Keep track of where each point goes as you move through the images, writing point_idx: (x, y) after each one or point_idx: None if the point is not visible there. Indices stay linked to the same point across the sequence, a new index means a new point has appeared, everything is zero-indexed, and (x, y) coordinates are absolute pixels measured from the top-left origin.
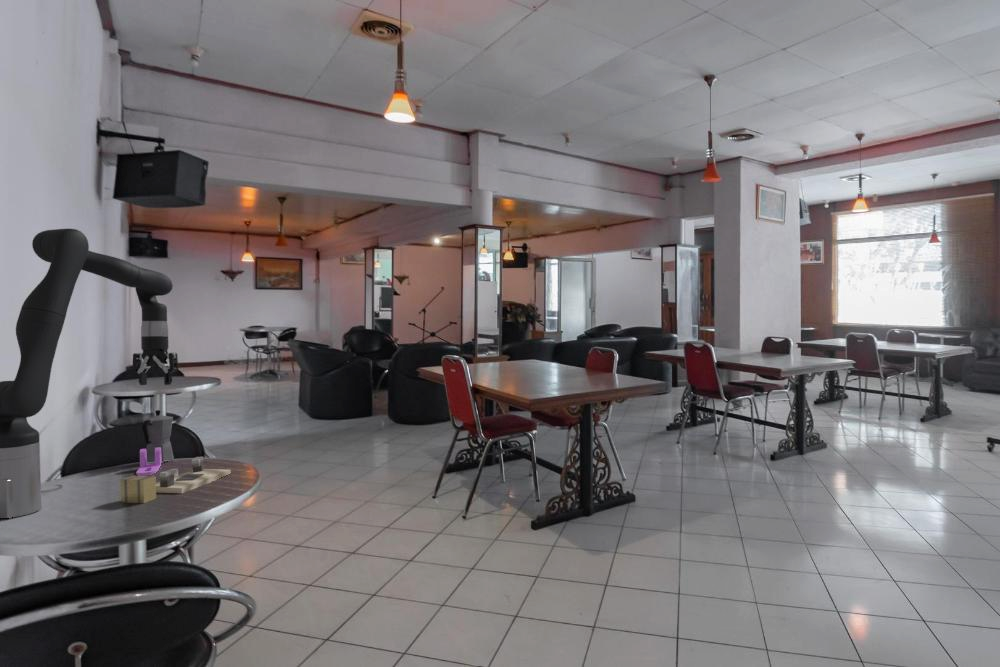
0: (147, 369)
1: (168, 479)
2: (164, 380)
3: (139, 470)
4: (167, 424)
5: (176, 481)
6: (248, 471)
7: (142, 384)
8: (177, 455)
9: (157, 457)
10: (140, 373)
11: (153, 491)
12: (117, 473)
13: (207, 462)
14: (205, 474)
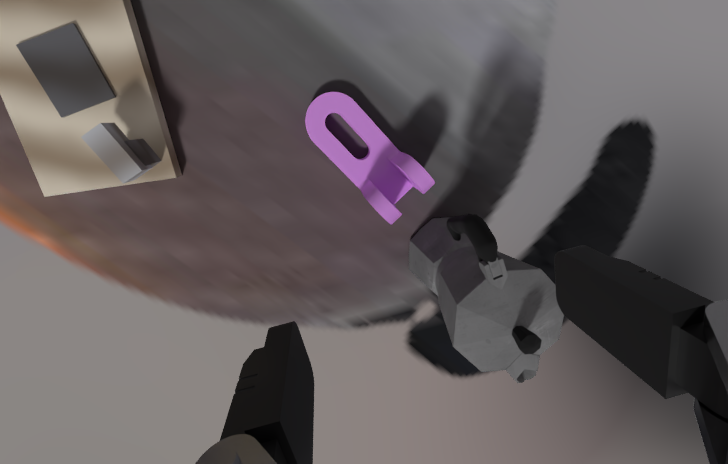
0: (711, 453)
1: None
2: (286, 347)
3: (362, 118)
4: (449, 315)
5: (60, 15)
6: (39, 238)
7: (557, 256)
8: None
9: (367, 189)
10: (710, 321)
11: None
12: (442, 108)
13: (285, 284)
14: (62, 122)
